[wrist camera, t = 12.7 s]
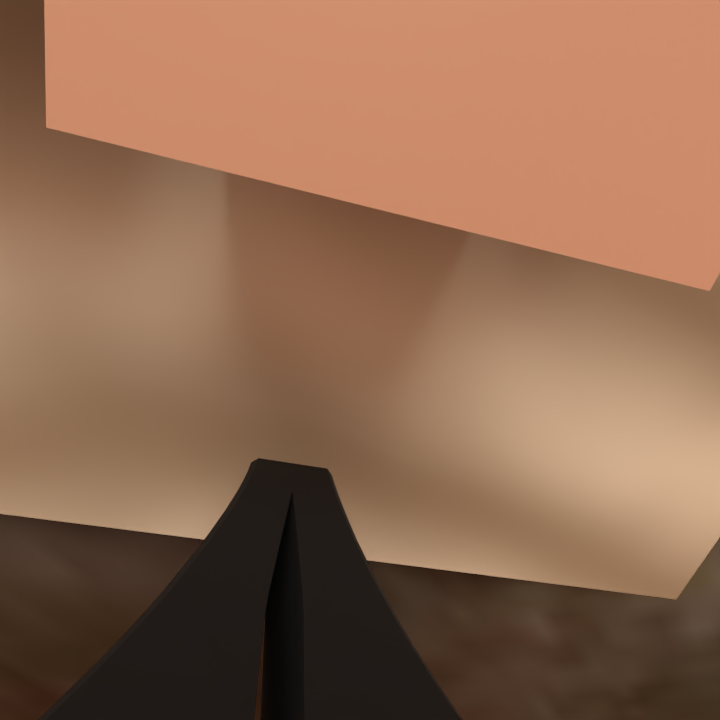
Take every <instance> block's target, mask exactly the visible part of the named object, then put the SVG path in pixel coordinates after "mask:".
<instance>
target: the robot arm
mask: <svg viewBox="0 0 720 720" xmlns="http://www.w3.org/2000/svg"><path fill="white" fill-rule="evenodd" d="M265 611H266V614H265ZM264 618H265V635H264V656H263V678H262V701H261V720H462V718H461V717H460V715H459V714H458V712H457V711H456V709H455V708H454V707H453V705H452V704H451V702H450V701H449V699H448V698H447V696H446V695H445V694H444V692H443V691H442V689H441V688H440V686H439V685H438V683H437V682H436V680H435V679H434V677H433V675H432V674H431V672H430V671H429V669H428V668H427V666H426V665H425V663H424V662H423V660H422V659H421V657H420V655H419V654H418V652H417V651H416V649H415V647H414V646H413V644H412V642H411V641H410V639H409V637H408V636H407V634H406V632H405V631H404V629H403V627H402V626H401V624H400V622H399V620H398V619H397V617H396V615H395V613H394V611H393V610H392V608H391V606H390V604H389V602H388V601H387V599H386V597H385V595H384V593H383V591H382V590H381V588H380V586H379V584H378V582H377V580H376V578H375V576H374V574H373V572H372V570H371V568H370V566H369V564H368V562H367V560H366V557H365V555H364V553H363V551H362V549H361V547H360V545H359V543H358V541H357V539H356V536H355V534H354V532H353V530H352V527H351V525H350V523H349V520H348V518H347V515H346V513H345V510H344V508H343V505H342V503H341V500H340V498H339V495H338V492H337V489H336V486H335V483H334V480H333V477H332V474H331V473H330V472H329V470H328V469H327V468H320V467H314V466H307V465H301V464H294V463H288V462H281V461H275V460H268V459H261V458H258V459H256V460H254V461H253V462H251V464H250V466H249V469H248V472H247V474H246V476H245V478H244V480H243V482H242V484H241V485H240V487H239V489H238V491H237V492H236V494H235V496H234V497H233V499H232V500H231V502H230V503H229V505H228V507H227V508H226V510H225V511H224V513H223V514H222V515H221V517H220V518H219V520H218V521H217V522H216V524H215V525H214V527H213V528H212V529H211V531H210V532H209V534H208V535H207V537H206V538H205V539H204V541H203V542H202V543H201V545H200V546H199V547H198V549H197V550H196V551H195V552H194V554H193V555H192V556H191V557H190V559H189V560H188V561H187V562H186V564H185V565H184V566H183V567H182V568H181V570H180V571H179V572H178V573H177V575H176V576H175V577H174V578H173V579H172V581H171V582H170V583H169V584H168V586H167V587H166V588H165V589H164V590H163V592H162V593H161V594H160V595H159V596H158V597H157V598H156V600H155V601H154V602H153V603H152V604H151V605H150V606H149V608H148V609H147V610H146V611H145V612H144V613H143V614H142V615H141V616H140V618H139V619H138V620H137V621H136V622H135V623H134V624H133V625H132V626H131V627H130V628H129V629H128V631H127V632H126V633H125V634H124V635H123V636H122V637H121V638H120V639H119V640H118V641H117V642H116V643H115V644H114V645H113V646H112V647H111V648H110V650H109V651H108V652H107V653H106V654H105V655H104V656H103V657H102V658H101V659H100V660H99V661H98V662H97V663H96V664H95V665H94V666H93V667H92V668H91V669H90V670H89V671H88V672H87V673H86V674H85V675H84V676H83V677H82V678H81V679H80V680H78V681H77V682H76V683H75V684H74V685H73V686H72V687H71V688H70V689H69V690H68V691H67V692H66V693H65V694H64V695H63V696H62V697H61V698H60V699H59V700H58V701H57V702H56V703H55V704H54V705H53V706H52V707H51V708H50V709H49V710H48V711H47V712H46V713H45V714H44V715H43V716H42V717H40V718H39V719H38V720H254V713H255V703H256V693H257V683H258V674H259V664H260V655H261V645H262V636H263V627H264Z"/></svg>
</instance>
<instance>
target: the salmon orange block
mask: <svg viewBox="0 0 720 720" xmlns="http://www.w3.org/2000/svg"><path fill="white" fill-rule="evenodd" d="M44 21H45V86H46V128H50V129H54V130H58V131H62V132H67V133H71V134H75V135H79V136H83V137H87V138H91V139H95V140H99V141H103V142H107V143H111V144H115V145H119V146H123V147H127V148H131V149H135V150H140V151H144V152H148V153H152V154H156V155H160V156H164V157H168V158H172V159H176V160H180V161H184V162H188V163H192V164H196V165H200V166H204V167H208V168H212V169H217V170H221V171H225V172H229V173H233V174H237V175H241V176H245V177H249V178H253V179H257V180H261V181H265V182H269V183H273V184H277V185H281V186H285V187H290V188H294V189H298V190H302V191H306V192H310V193H314V194H318V195H322V196H326V197H330V198H334V199H338V200H342V201H346V202H350V203H354V204H358V205H362V206H367V207H371V208H375V209H379V210H383V211H387V212H391V213H395V214H399V215H403V216H407V217H411V218H415V219H419V220H423V221H427V222H431V223H435V224H440V225H444V226H448V227H452V228H456V229H460V230H464V231H468V232H472V233H476V234H480V235H484V236H488V237H492V238H496V239H500V240H504V241H508V242H513V243H517V244H521V245H525V246H529V247H533V248H537V249H541V250H545V251H549V252H553V253H557V254H561V255H565V256H569V257H573V258H577V259H581V260H585V261H590V262H594V263H598V264H602V265H606V266H610V267H614V268H618V269H622V270H626V271H630V272H634V273H638V274H642V275H646V276H650V277H654V278H658V279H662V280H667V281H671V282H675V283H679V284H683V285H687V286H691V287H695V288H699V289H703V290H707V291H710V290H711V288H712V286H713V284H714V282H715V280H716V279H717V277H718V275H719V273H720V0H44Z"/></svg>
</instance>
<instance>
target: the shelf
mask: <svg viewBox="0 0 720 720" xmlns="http://www.w3.org/2000/svg"><path fill="white" fill-rule="evenodd" d="M258 458H261V459H268V460H275V461H281V462H288V463H294V464H301V465H307V466H314V467H320V468H327V469H328V470H329V472H330V473H331V474H332V477H333V480H334V483H335V486H336V489H337V492H338V495H339V498H340V500H341V503H342V505H343V508H344V510H345V513H346V515H347V518H348V520H349V523H350V525H351V527H352V530H353V532H354V534H355V536H356V539H357V541H358V543H359V545H360V547H361V549H362V551H363V553H364V555H365V557H366V560H370V561H378V562H386V563H393V564H401V565H409V566H417V567H425V568H433V569H441V570H449V571H457V572H465V573H472V574H480V575H488V576H496V577H504V578H512V579H520V580H528V581H536V582H544V583H552V584H559V585H567V586H575V587H583V588H591V589H599V590H607V591H615V592H623V593H631V594H638V595H646V596H654V597H662V598H670V599H677V597H678V596H679V594H680V593H681V592H682V590H683V589H684V587H685V586H686V584H687V583H688V582H689V580H690V579H691V577H692V576H693V574H694V573H695V572H696V570H697V569H698V567H699V566H700V565H701V563H702V562H703V560H704V559H705V557H706V556H707V555H708V553H709V552H710V550H711V549H712V547H713V546H714V545H715V543H716V542H717V540H718V539H719V537H720V273H719V275H718V277H717V279H716V280H715V282H714V284H713V286H712V288H711V290H710V291H707V290H703V289H699V288H695V287H691V286H687V285H683V284H679V283H675V282H671V281H667V280H662V279H658V278H654V277H650V276H646V275H642V274H638V273H634V272H630V271H626V270H622V269H618V268H614V267H610V266H606V265H602V264H598V263H594V262H590V261H585V260H581V259H577V258H573V257H569V256H565V255H561V254H557V253H553V252H549V251H545V250H541V249H537V248H533V247H529V246H525V245H521V244H517V243H513V242H508V241H504V240H500V239H496V238H492V237H488V236H484V235H480V234H476V233H472V232H468V231H464V230H460V229H456V228H452V227H448V226H444V225H440V224H435V223H431V222H427V221H423V220H419V219H415V218H411V217H407V216H403V215H399V214H395V213H391V212H387V211H383V210H379V209H375V208H371V207H367V206H362V205H358V204H354V203H350V202H346V201H342V200H338V199H334V198H330V197H326V196H322V195H318V194H314V193H310V192H306V191H302V190H298V189H294V188H290V187H285V186H281V185H277V184H273V183H269V182H265V181H261V180H257V179H253V178H249V177H245V176H241V175H237V174H233V173H229V172H225V171H221V170H217V169H212V168H208V167H204V166H200V165H196V164H192V163H188V162H184V161H180V160H176V159H172V158H168V157H164V156H160V155H156V154H152V153H148V152H144V151H140V150H135V149H131V148H127V147H123V146H119V145H115V144H111V143H107V142H103V141H99V140H95V139H91V138H87V137H83V136H79V135H75V134H71V133H67V132H62V131H58V130H54V129H50V128H46V86H45V21H44V0H0V514H6V515H14V516H22V517H30V518H38V519H46V520H54V521H62V522H69V523H77V524H85V525H93V526H101V527H109V528H117V529H125V530H133V531H141V532H149V533H156V534H164V535H172V536H180V537H188V538H196V539H205V538H206V537H207V535H208V534H209V532H210V531H211V529H212V528H213V527H214V525H215V524H216V522H217V521H218V520H219V518H220V517H221V515H222V514H223V513H224V511H225V510H226V508H227V507H228V505H229V503H230V502H231V500H232V499H233V497H234V496H235V494H236V492H237V491H238V489H239V487H240V485H241V484H242V482H243V480H244V478H245V476H246V474H247V472H248V469H249V466H250V464H251V462H253V461H254V460H256V459H258Z"/></svg>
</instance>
